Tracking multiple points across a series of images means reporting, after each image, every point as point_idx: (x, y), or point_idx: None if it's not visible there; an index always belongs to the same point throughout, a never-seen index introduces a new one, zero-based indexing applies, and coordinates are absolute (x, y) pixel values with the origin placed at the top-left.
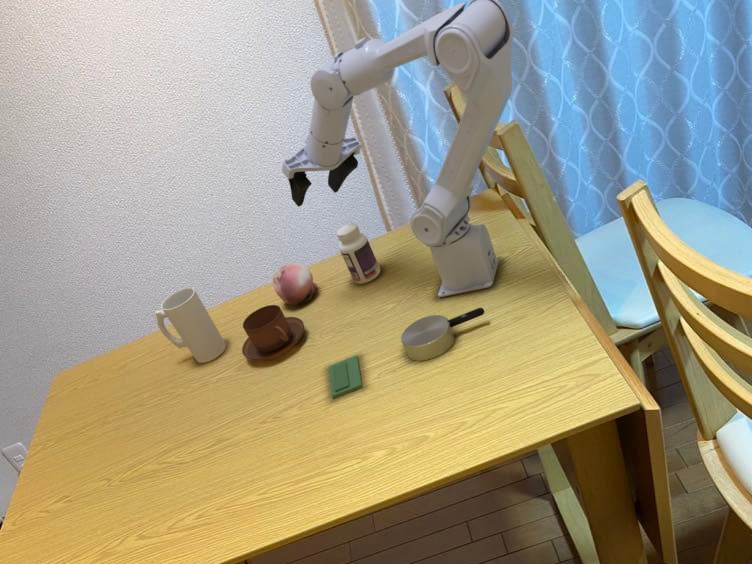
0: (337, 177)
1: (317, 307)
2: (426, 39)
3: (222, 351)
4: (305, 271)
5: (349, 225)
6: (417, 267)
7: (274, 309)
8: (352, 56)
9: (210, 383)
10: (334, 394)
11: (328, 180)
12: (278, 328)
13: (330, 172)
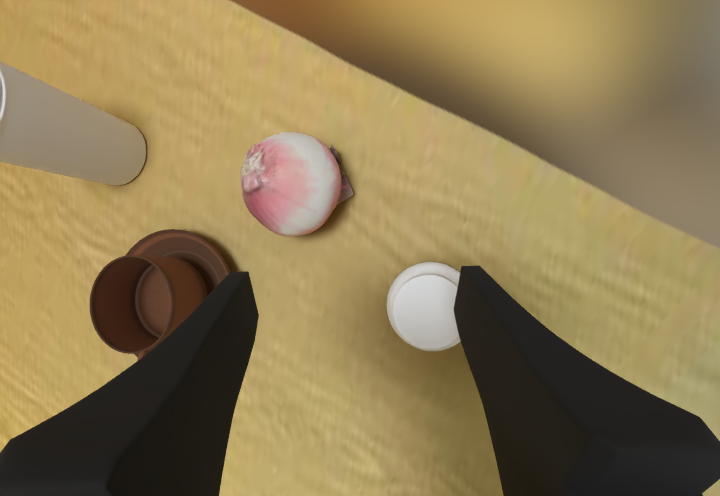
0: (486, 379)
1: (302, 268)
2: None
3: (127, 182)
4: (311, 214)
5: (449, 301)
6: None
7: (175, 286)
8: None
9: (71, 251)
10: None
11: (468, 282)
12: None
13: (490, 320)
